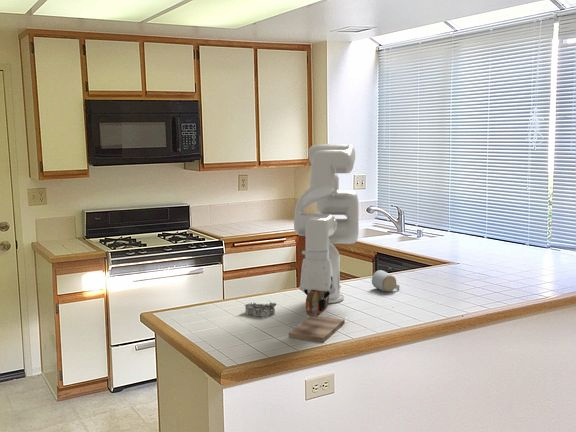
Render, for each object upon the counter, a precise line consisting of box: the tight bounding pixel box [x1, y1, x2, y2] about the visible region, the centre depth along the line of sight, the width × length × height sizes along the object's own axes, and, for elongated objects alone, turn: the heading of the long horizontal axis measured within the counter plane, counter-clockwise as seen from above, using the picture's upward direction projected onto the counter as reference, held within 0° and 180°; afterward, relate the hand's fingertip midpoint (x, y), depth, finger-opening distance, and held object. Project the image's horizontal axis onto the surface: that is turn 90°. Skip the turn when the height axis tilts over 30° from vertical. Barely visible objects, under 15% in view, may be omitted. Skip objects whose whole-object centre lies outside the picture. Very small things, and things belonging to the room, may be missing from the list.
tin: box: [305, 290, 329, 317], centre depth 209 cm, size 15×3×8 cm, turn 156°
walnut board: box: [288, 315, 346, 343], centre depth 210 cm, size 20×12×2 cm, turn 156°
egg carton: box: [243, 302, 277, 318], centre depth 230 cm, size 11×8×4 cm
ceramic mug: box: [371, 269, 401, 293], centre depth 259 cm, size 11×8×8 cm
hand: (317, 309), depth 209 cm, fingers closed on tin, 2 cm apart
